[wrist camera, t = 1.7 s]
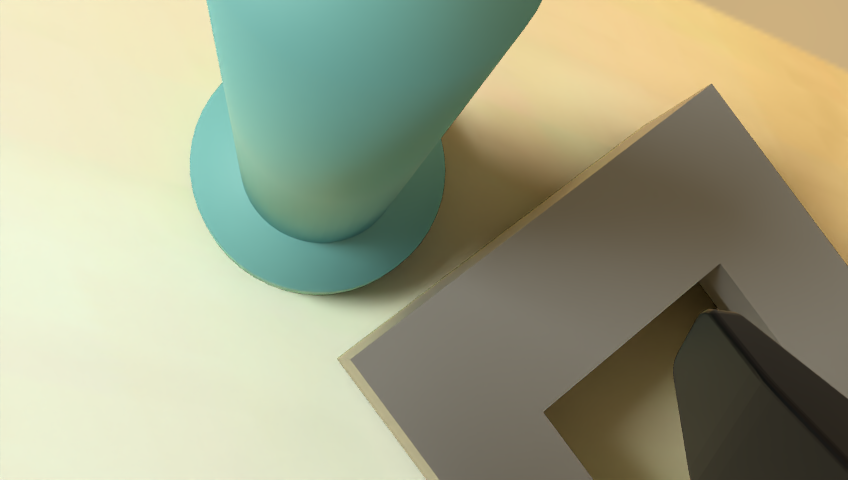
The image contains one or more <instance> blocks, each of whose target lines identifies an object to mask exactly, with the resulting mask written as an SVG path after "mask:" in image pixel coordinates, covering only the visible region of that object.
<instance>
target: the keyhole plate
mask: <svg viewBox="0 0 848 480" xmlns="http://www.w3.org/2000/svg"><path fill="white" fill-rule="evenodd" d="M697 282H699V283H700V285H701V286H702V287H703V289H704V290H705V292H706V293H707V294H708V296H709V297H710V298H711V300H712V301H713V302H714V304H715V305H716V306H717V308H718V309H719V310H724V311H731V312H736V313H739V314H741V315H742V316H744V317H745V318H746V319H748V320H749V321H750V322H751V323H753V324H754V325H755V326H757V327H758V328H759V329H760V330H762V331H763V332H764V333H765V334H767V335H768V336H769V337H770V338H772V339H773V340H774V341H776V342H777V343H778V344H779V345H781V346H782V347H783V348H784V349H786V350H787V351H788V352H789V353H791V354H792V355H793V356H795V357H796V358H797V359H798V360H800V361H801V362H802V363H803V364H805V365H806V366H807V367H808V368H810V369H811V370H812V371H814V372H815V373H816V374H817V375H819V376H820V377H821V378H822V379H824V380H825V381H826V382H827V383H829V384H830V385H831V386H833V387H834V388H835V389H836V390H838V391H839V392H840V393H841V394H843V395H844V396H845V397H846V398H848V266H847V265H846V263H845V262H844V261H843V259H842V258H841V257H840V255H839V254H838V253H837V251H836V250H835V249H834V247H833V246H832V244H831V243H830V242H829V240H828V239H827V238H826V236H825V235H824V234H823V232H822V231H821V230H820V228H819V227H818V226H817V224H816V223H815V222H814V220H813V219H812V218H811V216H810V215H809V214H808V212H807V211H806V210H805V208H804V207H803V206H802V204H801V203H800V202H799V200H798V199H797V198H796V196H795V195H794V193H793V192H792V191H791V189H790V188H789V187H788V185H787V184H786V183H785V181H784V180H783V179H782V177H781V176H780V175H779V173H778V172H777V171H776V169H775V168H774V167H773V165H772V164H771V163H770V161H769V160H768V159H767V157H766V156H765V155H764V153H763V152H762V151H761V149H760V148H759V147H758V145H757V144H756V142H755V141H754V140H753V138H752V137H751V136H750V134H749V133H748V132H747V130H746V129H745V128H744V126H743V125H742V124H741V122H740V121H739V120H738V118H737V117H736V116H735V114H734V113H733V112H732V110H731V109H730V108H729V106H728V105H727V104H726V102H725V101H724V100H723V98H722V97H721V96H720V94H719V93H718V92H717V90H716V89H715V87H714V86H713V85H712V84H710V85H709V86H707V87H705V88H704V89H702V90H701V91H699V92H697V93H696V94H694V95H693V96H691V97H689V98H688V99H686V100H685V101H683V102H681V103H680V104H678V105H676V106H675V107H673V108H672V109H670V110H668V111H667V112H665V113H664V114H662V115H660V116H659V117H657V118H656V119H654V120H652V121H651V122H649V123H648V124H646V125H644V126H643V127H641V128H640V129H639V130H637V131H636V132H635V133H633V134H632V135H631V136H629V137H628V138H627V139H626V140H624V141H623V142H622V143H620V144H619V145H618V146H616V147H615V148H614V149H612V150H611V151H610V152H608V153H607V154H606V155H604V156H603V157H602V158H600V159H599V160H598V161H597V162H595V163H594V164H593V165H591V166H590V167H589V168H587V169H586V170H585V171H583V172H582V173H581V174H579V175H578V176H577V177H575V178H574V179H573V180H572V181H570V182H569V183H568V184H566V185H565V186H564V187H562V188H561V189H560V190H558V191H557V192H556V193H554V194H553V195H552V196H550V197H549V198H548V199H546V200H545V201H544V202H543V203H541V204H540V205H539V206H537V207H536V208H535V209H533V210H532V211H531V212H529V213H528V214H527V215H525V216H524V217H523V218H521V219H520V220H519V221H518V222H516V223H515V224H514V225H512V226H511V227H510V228H508V229H507V230H506V231H504V232H503V233H502V234H500V235H499V236H498V237H496V238H495V239H494V240H493V241H491V242H490V243H489V244H487V245H486V246H485V247H483V248H482V249H481V250H479V251H478V252H477V253H475V254H474V255H473V256H471V257H470V258H469V259H467V260H466V261H465V262H464V263H462V264H461V265H460V266H458V267H457V268H456V269H454V270H453V271H452V272H450V273H449V274H448V275H446V276H445V277H444V278H442V279H441V280H440V281H439V282H437V283H436V284H435V285H433V286H432V287H431V288H429V289H428V290H427V291H425V292H424V293H423V294H421V295H420V296H419V297H417V298H416V299H415V300H413V301H412V302H411V303H410V304H408V305H407V306H406V307H404V308H403V309H402V310H400V311H399V312H398V313H396V314H395V315H394V316H392V317H391V318H390V319H388V320H387V321H386V322H385V323H383V324H382V325H381V326H379V327H378V328H377V329H375V330H374V331H373V332H371V333H370V334H369V335H367V336H366V337H365V338H363V339H362V340H361V341H359V342H358V343H357V344H356V345H354V346H353V347H352V348H350V349H349V350H348V351H346V352H345V353H344V354H342V355H341V356H340V357H338V358H337V359H338V361H339V362H340V363H341V365H342V366H343V368H344V369H345V370H346V372H347V373H348V374H349V376H350V377H351V378H352V380H353V381H354V382H355V384H356V385H357V386H358V388H359V389H360V391H361V392H362V393H363V395H364V396H365V397H366V399H367V400H368V401H369V403H370V404H371V405H372V407H373V408H374V409H375V411H376V412H377V413H378V415H379V416H380V418H381V419H382V420H383V422H384V423H385V424H386V426H387V427H388V428H389V430H390V431H391V432H392V434H393V435H394V436H395V438H396V439H397V440H398V442H399V443H400V445H401V446H402V447H403V449H404V450H405V451H406V453H407V454H408V455H409V457H410V458H411V459H412V461H413V462H414V463H415V465H416V466H417V467H418V469H419V470H420V472H421V473H422V474H423V476H424V477H425V478H426V480H593V479H592V477H591V476H590V474H589V473H588V472H587V470H586V469H585V468H584V466H583V465H582V464H581V462H580V461H579V460H578V458H577V457H576V456H575V454H574V453H573V452H572V450H571V449H570V447H569V446H568V445H567V443H566V442H565V441H564V439H563V438H562V437H561V435H560V434H559V433H558V431H557V430H556V429H555V427H554V426H553V425H552V423H551V422H550V421H549V419H548V418H547V416H546V415H545V414H544V411H545V410H546V409H547V408H548V407H550V406H551V405H552V404H553V403H554V402H556V401H557V400H558V399H559V398H560V397H562V396H563V395H564V394H565V393H566V392H568V391H569V390H570V389H571V388H572V387H573V386H575V385H576V384H577V383H578V382H579V381H581V380H582V379H583V378H584V377H585V376H587V375H588V374H589V373H590V372H591V371H593V370H594V369H595V368H596V367H597V366H598V365H600V364H601V363H602V362H603V361H604V360H606V359H607V358H608V357H609V356H610V355H612V354H613V353H614V352H615V351H616V350H618V349H619V348H620V347H621V346H622V345H623V344H625V343H626V342H627V341H628V340H629V339H631V338H632V337H633V336H634V335H635V334H637V333H638V332H639V331H640V330H641V329H642V328H644V327H645V326H646V325H647V324H648V323H650V322H651V321H652V320H653V319H654V318H656V317H657V316H658V315H659V314H660V313H662V312H663V311H664V310H665V309H666V308H667V307H669V306H670V305H671V304H672V303H673V302H675V301H676V300H677V299H678V298H679V297H681V296H682V295H683V294H684V293H685V292H687V291H688V290H689V289H690V288H691V287H692V286H694V285H695V284H696V283H697Z"/></svg>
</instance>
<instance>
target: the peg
mask: <svg viewBox="0 0 848 480" xmlns="http://www.w3.org/2000/svg"><path fill="white" fill-rule="evenodd" d="M541 1H542V0H207V5H208V10H209V15H210V20H211V25H212V31H213V36H214V41H215V46H216V51H217V56H218V61H219V66H220V71H221V76H222V81H223V83H221V85H220V86H219V87H218V88H217V90H216V91H215V92H214V93H213V95H212V96H211V97H210V99H209V101H208V102H207V104H206V106H205V107H204V109H203V111H202V113H201V116H200V118H199V120H198V123H197V125H196V128H195V132H194V136H193V140H192V146H191V154H190V176H191V182H192V188H193V193H194V197H195V200H196V203H197V206H198V209H199V211H200V213H201V216H202V218H203V220H204V222H205V224H206V226H207V228H208V230H209V231H210V233H211V234H212V236H213V238H214V239H215V241H216V242H217V244H218V245H219V246H220V248H221V249H222V250H223V251H224V252H225V253H226V255H227V256H228V257H229V258H230V259H231V260H232V261H233V262H235V263H236V264H237V265H238V266H239V267H240V268H241V269H243V270H244V271H246V272H247V273H249V274H250V275H252V276H253V277H255V278H257V279H259V280H261V281H263V282H265V283H266V284H268V285H271V286H274V287H277V288H280V289H282V290H286V291H291V292H295V293H300V294H312V295H322V294H335V293H341V292H346V291H350V290H353V289H356V288H359V287H363V286H365V285H367V284H369V283H371V282H373V281H375V280H377V279H379V278H380V277H382V276H384V275H385V274H387V273H388V272H390V271H391V270H393V269H394V268H395V267H397V266H398V265H399V264H400V263H401V262H403V261H404V260H405V259H406V258H407V257H408V256H409V255H410V254H411V253H412V252H413V251H414V250H415V249H416V248H417V247H418V245H419V244H420V243H421V242H422V240H423V239H424V237H425V236H426V234H427V233H428V231H429V229H430V227H431V225H432V223H433V221H434V219H435V217H436V215H437V212H438V209H439V206H440V203H441V200H442V195H443V190H444V182H445V159H444V151H443V146H442V141H441V138H442V136H443V135H444V134H445V132H446V131H447V130H448V128H449V127H450V126H451V124H452V123H453V122H454V120H455V119H456V118H457V116H458V115H459V114H460V113H461V111H462V110H463V109H464V107H465V106H466V105H467V103H468V102H469V101H470V99H471V98H472V97H473V95H474V94H475V93H476V92H477V90H478V89H479V88H480V86H481V85H482V84H483V82H484V81H485V80H486V78H487V77H488V76H489V74H490V73H491V72H492V70H493V69H494V68H495V67H496V65H497V64H498V63H499V61H500V60H501V59H502V57H503V56H504V55H505V53H506V52H507V51H508V49H509V48H510V47H511V45H512V44H513V43H514V42H515V40H516V39H517V38H518V36H519V35H520V34H521V32H522V31H523V30H524V28H525V27H526V25H527V24H528V23H529V21H530V20H531V18H532V17H533V15H534V14H535V13H536V11H537V9H538V7H539V5H540V3H541Z"/></svg>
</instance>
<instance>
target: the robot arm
mask: <svg viewBox="0 0 848 480" xmlns="http://www.w3.org/2000/svg"><path fill="white" fill-rule="evenodd" d="M673 376H674V383H675V389H676V396H677V402H678V408H679V414H680V420H681V426H682V433H683V439H684V445H685V451H686V457H687V463H688V470H689V475H690V480H848V398H846V397H845V396H844V395H843V394H841V393H840V392H839V391H838V390H836V389H835V388H834V387H833V386H831V385H830V384H829V383H827V382H826V381H825V380H824V379H822V378H821V377H820V376H819V375H817V374H816V373H815V372H814V371H812V370H811V369H810V368H808V367H807V366H806V365H805V364H803V363H802V362H801V361H800V360H798V359H797V358H796V357H795V356H793V355H792V354H791V353H789V352H788V351H787V350H786V349H784V348H783V347H782V346H781V345H779V344H778V343H777V342H776V341H774V340H773V339H772V338H770V337H769V336H768V335H767V334H765V333H764V332H763V331H762V330H760V329H759V328H758V327H757V326H755V325H754V324H753V323H751V322H750V321H749V320H748V319H746V318H745V317H744V316H742V315H741V314H739V313H736V312H731V311H724V310H716V309H707V310H704V311H703V312H702V313H700V314H699V316H698V317H697V319H696V321H695V323H694V324H693V326H692V328H691V330H690V332H689V333H688V335H687V337H686V339H685V341H684V343H683V344H682V346H681V348H680V350H679V352H678V353H677V356H676V358H675V362H674V367H673Z"/></svg>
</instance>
